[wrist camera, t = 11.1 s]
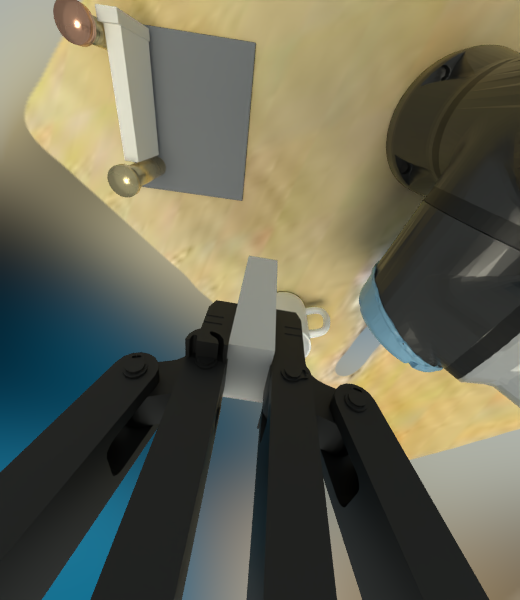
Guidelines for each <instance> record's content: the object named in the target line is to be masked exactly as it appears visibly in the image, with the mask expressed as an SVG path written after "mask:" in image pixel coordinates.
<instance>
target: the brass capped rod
mask: <svg viewBox="0 0 520 600" xmlns="http://www.w3.org/2000/svg"><path fill="white" fill-rule="evenodd" d="M53 12H54V19H55V23H56V25H57V27H58V29H59V31H60V33H61V34H62V35H63V36H64V37H65V38H66V39H67V40H68V41H69V42H71V43H73V44H76V45H79V46H82V47H88V46H90V45H95V46H98V47H100V48H103V49H106V50H108V49H107V42H106V36H105V30H104V24H103V23H101V22H100V21H98V20H97V17H95V16H93V15H92V14H91V12H90V11H89V10H88V8H87V7H86V6H85V5H84V4H82V3H81V2H79V1H77V0H56V2H55V4H54V10H53Z"/></svg>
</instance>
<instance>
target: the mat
mask: <svg viewBox="0 0 520 600" xmlns="http://www.w3.org/2000/svg"><path fill="white" fill-rule="evenodd" d="M144 26H146V27H147V28H149V36H150V41H149V52H150V63H151V74H152V85H153V96H154V107H155V118H156V129H157V140H158V151H159V155H157V156H156V157H159V158H161V159H162V160H163V161H164V163H165V165H166V171H165V173H164V174H163V175H161V176H159V177H158V178H156V179H154V180H152V181H150V182H149V183H147V184H145V185H143V186H141V187H148V188H155V189H162V190H169V191H176V192H183V193H190V194H198V195H205V196H212V197H219V198H226V199H233V200H240V201H242V198H243V186H244V175H245V163H246V151H247V140H248V128H249V117H250V105H251V93H252V82H253V70H254V59H255V47H256V43H254V42H248V41H242V40H235V39H229V38H223V37H217V36H211V35H205V34H198V33H192V32H186V31H180V30H174V29H168V28H161V27H155V26H149V25H144ZM135 163H137V162H135Z"/></svg>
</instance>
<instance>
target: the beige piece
mask: <svg viewBox="0 0 520 600" xmlns="http://www.w3.org/2000/svg"><path fill="white" fill-rule="evenodd" d="M95 8H96V14H97V20H98V21H100V22H101V23H103V24H104V30H105V36H106V42H107V49H108V55H109V62H110V68H111V75H112V81H113V87H114V94H115V100H116V107H117V113H118V119H119V126H120V132H121V139H122V145H123V152H124V158H125V161H132V162H141V161H143V160H146V159H149V158H152V157H154V156H157V155H159V151H158V140H157V129H156V118H155V107H154V96H153V85H152V74H151V63H150V52H149V41H150V36H149V28H147V27H146V26H144V25H143V24H141V23H140V22H138V21H137V20H135V19H134V18H132V17H131V16H129V15H128V14H126V13H125V12H123V11H122V10H120V9H119V8H117V7H113V6H106V5H99V4H95Z"/></svg>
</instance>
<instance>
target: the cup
mask: <svg viewBox="0 0 520 600" xmlns="http://www.w3.org/2000/svg"><path fill="white" fill-rule="evenodd" d="M276 309H278V310H284V311H290V312H296V313H297V315H298V316H299V318H300V319H301V323H302V333H303V344H304V354H305V358H306V357H307V355H308V354H309V352H310V350H311V341H310V338H314V337H319V336H322V335H324V334H326V333H327V331H328V330H329V328H330V317H329V315H328V313H327V312H326V311H325V310H324V309H322V308H320V307H308V308H305V306H304V303H303V302H302V300H301V299H300V298H299V297H298V296H296V295H294V294H292V293H289V292H278V293H277V296H276ZM310 314H320V315H322V317H323V321H324V323H323V326H322V327H321V328H319V329H313V330H309V328H308V322H307V315H310Z"/></svg>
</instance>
